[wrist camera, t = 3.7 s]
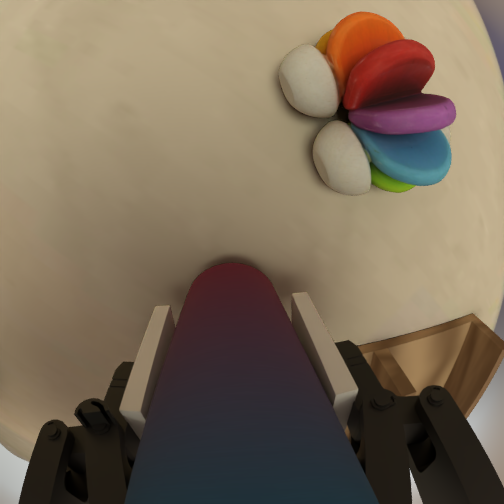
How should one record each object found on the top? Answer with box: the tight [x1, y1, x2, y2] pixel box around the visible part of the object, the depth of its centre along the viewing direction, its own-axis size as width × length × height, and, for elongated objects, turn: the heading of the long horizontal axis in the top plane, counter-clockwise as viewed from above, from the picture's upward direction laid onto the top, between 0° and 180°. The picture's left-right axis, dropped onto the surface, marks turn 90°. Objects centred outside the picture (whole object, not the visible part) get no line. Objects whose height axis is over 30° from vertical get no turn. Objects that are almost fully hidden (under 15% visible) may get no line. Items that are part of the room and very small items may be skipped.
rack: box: [345, 314, 504, 439], centre depth 19 cm, size 24×16×6 cm, turn 94°
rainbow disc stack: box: [279, 12, 456, 196], centre depth 10 cm, size 8×10×7 cm
